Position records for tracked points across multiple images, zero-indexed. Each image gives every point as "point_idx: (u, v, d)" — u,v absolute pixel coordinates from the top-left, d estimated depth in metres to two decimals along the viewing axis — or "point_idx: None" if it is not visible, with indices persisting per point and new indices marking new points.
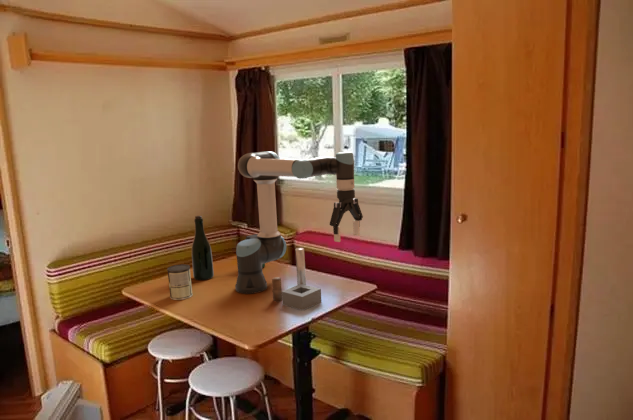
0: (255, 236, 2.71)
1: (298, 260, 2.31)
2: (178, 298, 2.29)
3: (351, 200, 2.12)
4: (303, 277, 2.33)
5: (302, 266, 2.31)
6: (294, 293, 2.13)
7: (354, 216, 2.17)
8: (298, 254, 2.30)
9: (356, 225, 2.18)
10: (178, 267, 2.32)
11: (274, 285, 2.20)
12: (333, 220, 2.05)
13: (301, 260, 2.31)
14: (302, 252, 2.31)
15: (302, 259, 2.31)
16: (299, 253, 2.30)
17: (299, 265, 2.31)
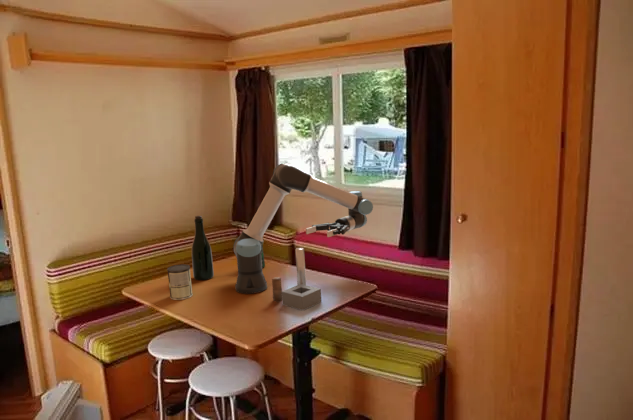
0: None
1: (298, 260, 2.31)
2: (178, 298, 2.29)
3: None
4: (303, 277, 2.33)
5: (302, 266, 2.31)
6: (294, 293, 2.13)
7: (319, 227, 2.50)
8: (298, 254, 2.30)
9: (313, 230, 2.48)
10: (178, 267, 2.32)
11: (274, 285, 2.20)
12: (344, 231, 2.41)
13: (301, 260, 2.31)
14: (302, 252, 2.31)
15: (302, 259, 2.31)
16: (299, 253, 2.30)
17: (299, 265, 2.31)
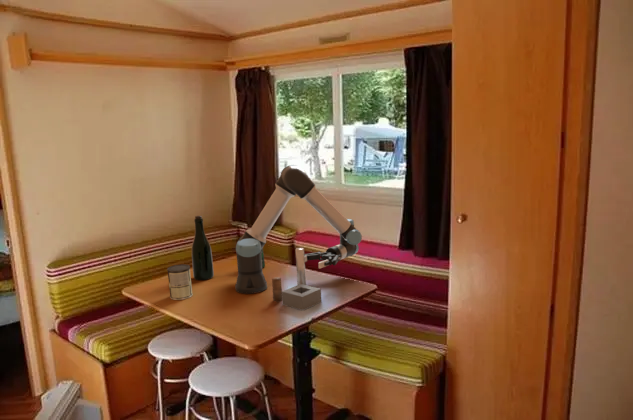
0: None
1: (298, 260, 2.31)
2: (178, 298, 2.29)
3: None
4: (303, 277, 2.33)
5: (302, 266, 2.31)
6: (294, 293, 2.13)
7: (310, 257, 2.46)
8: (298, 254, 2.30)
9: None
10: (178, 267, 2.32)
11: (274, 285, 2.20)
12: (336, 262, 2.37)
13: (301, 260, 2.31)
14: (302, 252, 2.31)
15: (302, 259, 2.31)
16: (299, 253, 2.30)
17: (299, 265, 2.31)
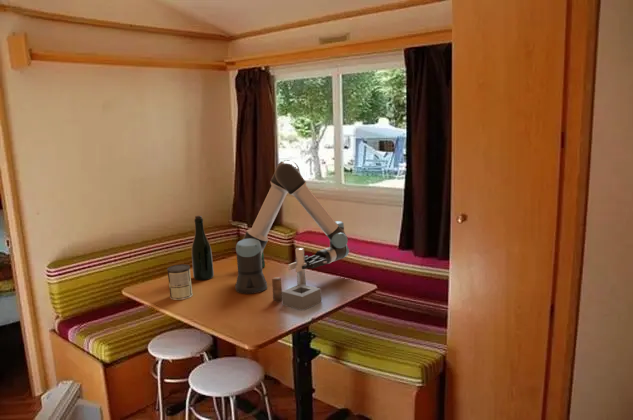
0: None
1: (298, 260, 2.31)
2: (178, 298, 2.29)
3: None
4: (303, 277, 2.33)
5: None
6: (294, 293, 2.13)
7: None
8: (298, 254, 2.30)
9: (296, 266, 2.34)
10: (178, 267, 2.32)
11: (274, 285, 2.20)
12: (315, 266, 2.32)
13: (301, 260, 2.31)
14: (302, 252, 2.31)
15: (302, 259, 2.31)
16: (299, 253, 2.30)
17: None
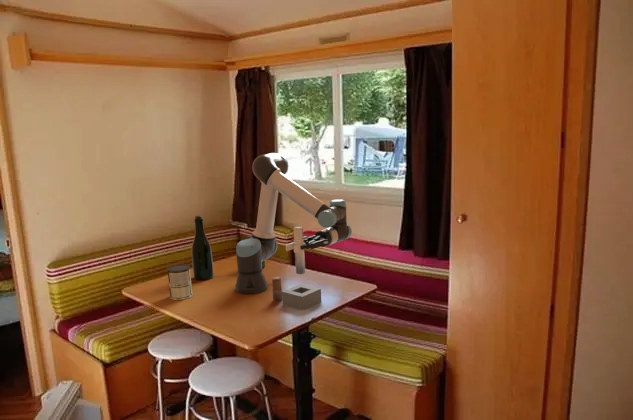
0: None
1: (296, 240, 2.11)
2: (178, 298, 2.29)
3: None
4: (302, 258, 2.13)
5: None
6: (294, 293, 2.13)
7: None
8: (296, 233, 2.11)
9: (294, 246, 2.14)
10: (178, 267, 2.32)
11: (274, 285, 2.20)
12: (315, 246, 2.13)
13: (300, 240, 2.11)
14: (301, 231, 2.11)
15: (300, 238, 2.11)
16: (298, 232, 2.10)
17: None
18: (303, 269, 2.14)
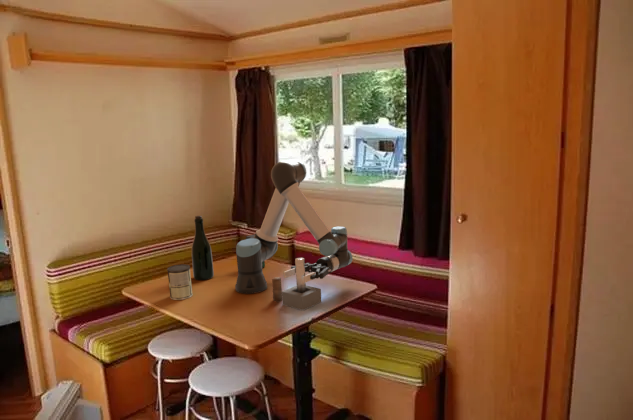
0: None
1: (298, 271, 2.13)
2: (178, 298, 2.29)
3: None
4: (303, 289, 2.15)
5: (302, 278, 2.14)
6: (294, 293, 2.13)
7: None
8: (298, 265, 2.13)
9: (292, 273, 2.19)
10: (178, 267, 2.32)
11: (274, 285, 2.20)
12: (323, 275, 2.14)
13: (301, 271, 2.13)
14: (302, 263, 2.13)
15: (302, 270, 2.13)
16: (300, 264, 2.13)
17: (299, 277, 2.14)
18: None
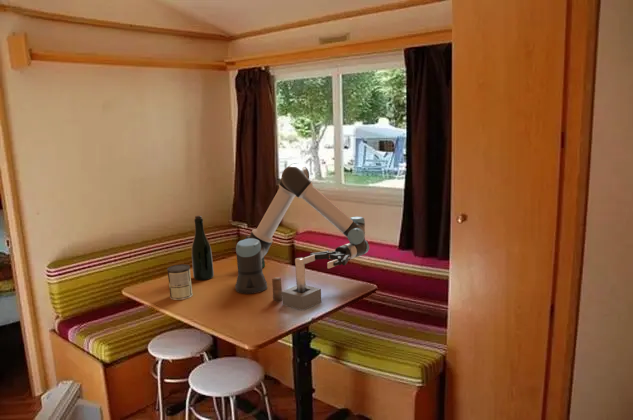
0: None
1: (298, 271, 2.14)
2: (178, 298, 2.29)
3: None
4: (303, 289, 2.15)
5: (302, 278, 2.14)
6: (294, 293, 2.13)
7: (318, 256, 2.33)
8: (298, 265, 2.13)
9: (311, 259, 2.30)
10: (178, 267, 2.32)
11: (274, 285, 2.20)
12: (345, 262, 2.24)
13: (301, 271, 2.13)
14: (302, 263, 2.13)
15: (302, 270, 2.13)
16: (299, 264, 2.13)
17: (299, 277, 2.14)
18: None
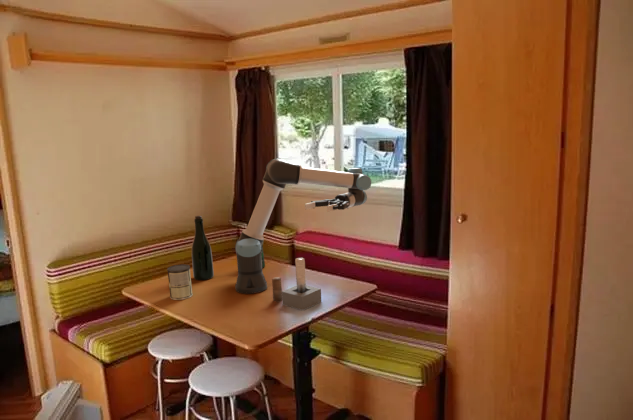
0: None
1: (298, 271, 2.13)
2: (178, 298, 2.29)
3: None
4: (303, 289, 2.15)
5: (302, 278, 2.14)
6: (294, 293, 2.13)
7: (318, 203, 2.44)
8: (298, 265, 2.13)
9: (312, 206, 2.41)
10: (178, 267, 2.32)
11: (274, 285, 2.20)
12: (344, 207, 2.35)
13: (301, 271, 2.13)
14: (302, 263, 2.13)
15: (302, 270, 2.13)
16: (300, 264, 2.13)
17: (299, 277, 2.14)
18: None
